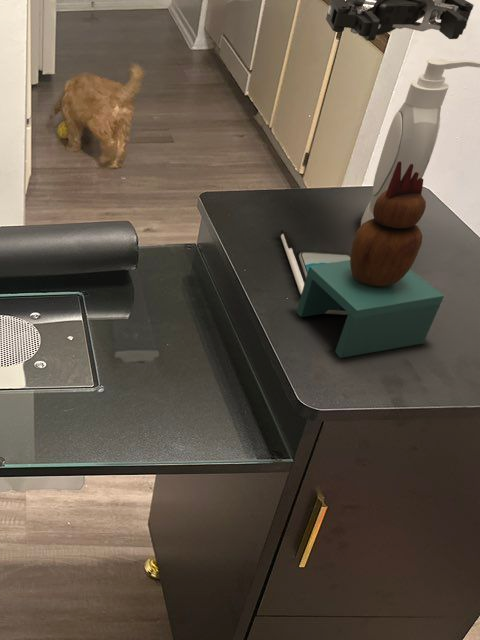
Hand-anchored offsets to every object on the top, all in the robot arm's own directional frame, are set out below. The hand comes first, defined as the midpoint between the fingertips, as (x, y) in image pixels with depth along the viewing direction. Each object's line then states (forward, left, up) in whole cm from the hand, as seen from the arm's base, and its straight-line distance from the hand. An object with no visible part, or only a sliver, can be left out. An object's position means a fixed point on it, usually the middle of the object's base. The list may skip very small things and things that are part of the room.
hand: (415, 30), depth 79 cm
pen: (+4, -4, -32) cm, 33 cm away
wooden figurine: (+4, +10, -25) cm, 27 cm away
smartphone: (+1, +1, -33) cm, 33 cm away
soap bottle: (-15, -10, -32) cm, 37 cm away
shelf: (+4, +11, -32) cm, 34 cm away
